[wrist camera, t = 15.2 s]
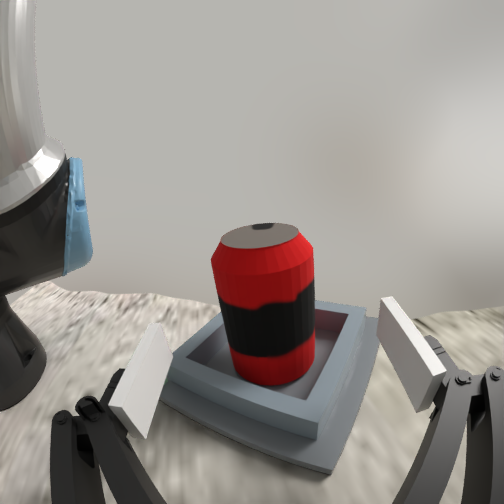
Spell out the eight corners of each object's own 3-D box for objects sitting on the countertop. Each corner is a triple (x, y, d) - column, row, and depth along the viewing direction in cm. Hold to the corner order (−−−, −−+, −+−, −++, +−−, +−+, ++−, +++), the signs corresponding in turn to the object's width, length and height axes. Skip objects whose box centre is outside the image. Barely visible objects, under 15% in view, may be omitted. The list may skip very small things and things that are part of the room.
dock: (146, 391, 22) (133, 366, 21) (245, 302, 36) (241, 278, 35) (331, 474, 13) (336, 455, 12) (383, 326, 27) (387, 299, 26)
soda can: (312, 331, 27) (307, 216, 23) (317, 386, 20) (317, 249, 16) (239, 334, 28) (220, 224, 24) (226, 387, 21) (193, 258, 17)
